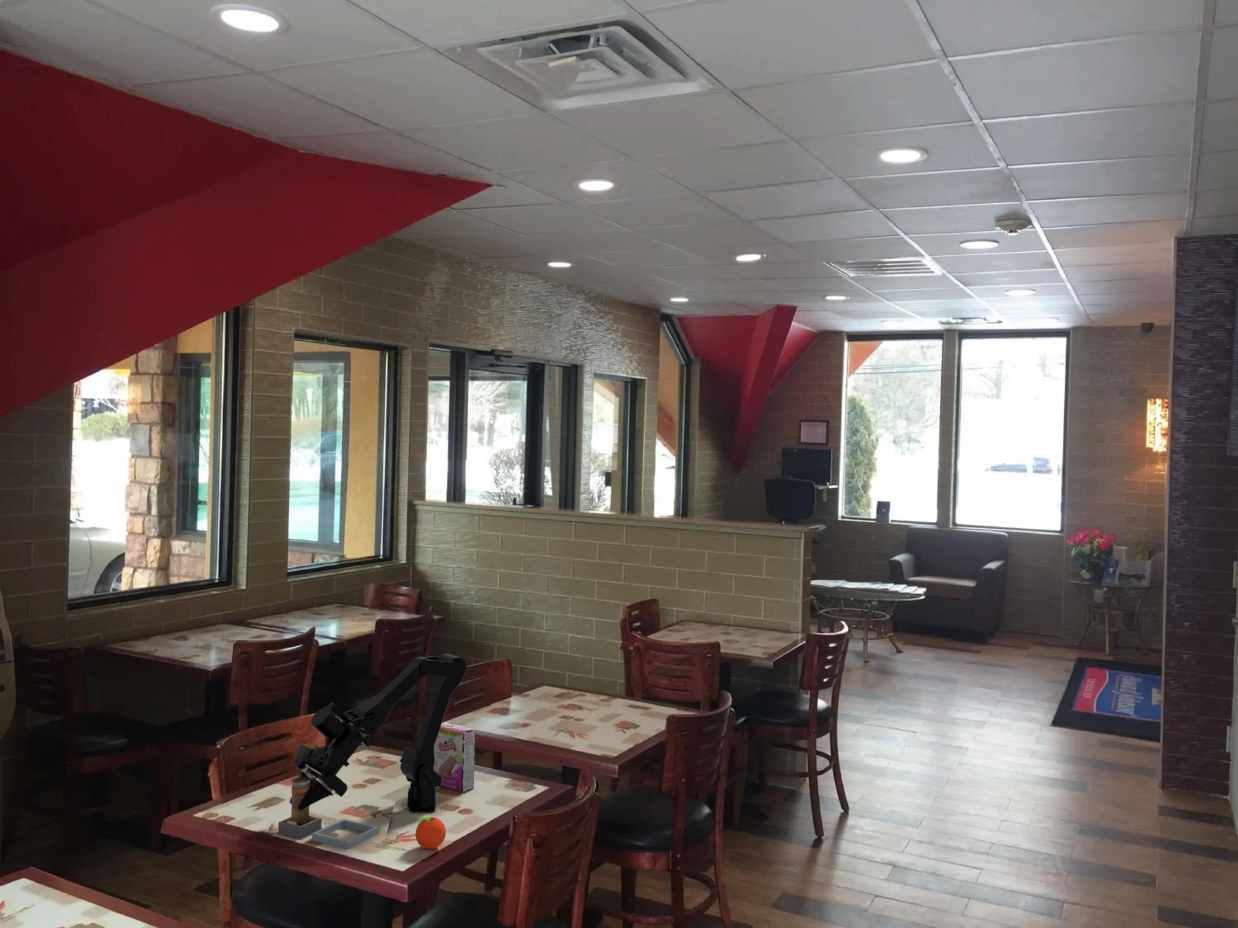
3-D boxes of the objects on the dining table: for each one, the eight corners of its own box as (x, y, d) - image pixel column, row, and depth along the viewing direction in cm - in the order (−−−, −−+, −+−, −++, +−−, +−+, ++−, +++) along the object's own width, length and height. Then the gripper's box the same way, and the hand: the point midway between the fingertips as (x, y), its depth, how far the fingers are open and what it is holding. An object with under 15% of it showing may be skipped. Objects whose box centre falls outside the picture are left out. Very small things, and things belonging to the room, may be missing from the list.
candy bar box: (431, 785, 274) (432, 725, 274) (443, 780, 279) (445, 721, 278) (462, 793, 268) (463, 732, 268) (474, 788, 273) (476, 727, 272)
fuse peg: (310, 827, 238) (312, 776, 238) (307, 833, 234) (308, 782, 234) (292, 827, 237) (293, 776, 237) (288, 834, 233) (290, 782, 233)
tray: (343, 830, 240) (343, 818, 240) (378, 839, 235) (379, 826, 235) (311, 846, 230) (312, 833, 230) (348, 855, 226) (348, 841, 226)
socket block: (299, 828, 241) (299, 809, 241) (324, 834, 237) (325, 815, 237) (274, 839, 234) (274, 820, 234) (300, 846, 230) (300, 826, 230)
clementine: (407, 853, 228) (408, 822, 228) (413, 841, 235) (414, 811, 235) (442, 854, 228) (443, 823, 228) (448, 842, 235) (448, 812, 235)
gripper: (301, 722, 245) (255, 776, 238) (335, 739, 231) (288, 797, 224) (331, 748, 250) (287, 802, 243) (366, 767, 236) (320, 825, 229)
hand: (294, 806), depth 235 cm, fingers closed on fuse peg, 4 cm apart
